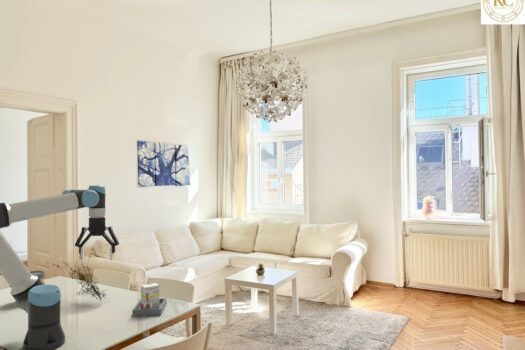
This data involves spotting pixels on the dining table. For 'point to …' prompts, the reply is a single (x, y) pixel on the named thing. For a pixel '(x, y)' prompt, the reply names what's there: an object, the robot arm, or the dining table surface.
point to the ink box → (150, 295)
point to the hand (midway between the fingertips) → (97, 260)
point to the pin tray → (155, 311)
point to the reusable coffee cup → (39, 275)
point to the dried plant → (86, 281)
